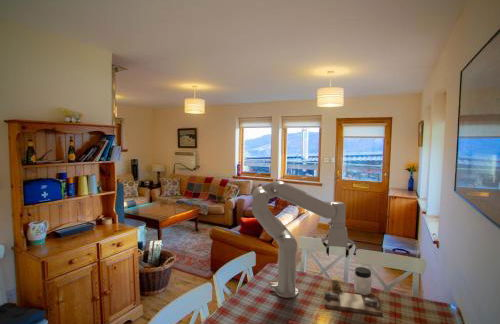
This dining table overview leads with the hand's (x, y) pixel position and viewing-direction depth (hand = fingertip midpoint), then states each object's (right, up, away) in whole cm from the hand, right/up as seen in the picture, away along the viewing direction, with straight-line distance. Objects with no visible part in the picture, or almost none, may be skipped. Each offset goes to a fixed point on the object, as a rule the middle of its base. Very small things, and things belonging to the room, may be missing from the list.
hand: (337, 255), depth 157 cm
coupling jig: (+3, -20, -12) cm, 24 cm away
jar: (+14, -20, +1) cm, 24 cm away
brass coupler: (0, -20, +1) cm, 20 cm away
